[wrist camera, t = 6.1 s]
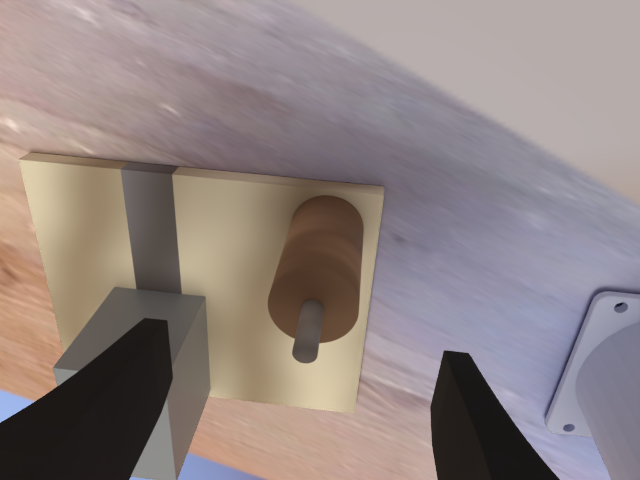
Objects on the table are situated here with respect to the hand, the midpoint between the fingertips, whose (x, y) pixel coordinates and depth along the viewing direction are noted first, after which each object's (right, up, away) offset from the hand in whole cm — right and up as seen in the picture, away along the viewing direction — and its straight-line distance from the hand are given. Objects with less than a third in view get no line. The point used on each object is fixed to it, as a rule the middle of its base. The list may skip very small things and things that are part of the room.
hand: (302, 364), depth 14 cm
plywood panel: (-4, +1, +10) cm, 11 cm away
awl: (+1, +4, +7) cm, 8 cm away
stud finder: (-7, -1, +10) cm, 12 cm away
